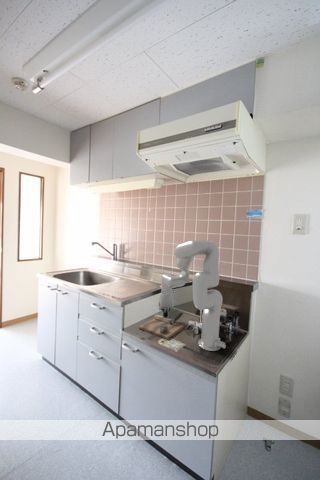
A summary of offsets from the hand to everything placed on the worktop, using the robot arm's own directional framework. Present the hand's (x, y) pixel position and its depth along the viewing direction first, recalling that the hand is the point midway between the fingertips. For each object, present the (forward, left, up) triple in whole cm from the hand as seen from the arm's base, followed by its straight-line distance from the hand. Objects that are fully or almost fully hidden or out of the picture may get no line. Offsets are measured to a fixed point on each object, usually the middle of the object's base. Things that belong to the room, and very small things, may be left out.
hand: (165, 317), depth 157 cm
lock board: (-5, +12, -2) cm, 13 cm away
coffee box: (-26, -12, -2) cm, 29 cm away
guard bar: (-2, +5, 0) cm, 6 cm away
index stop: (-11, +18, -2) cm, 21 cm away
